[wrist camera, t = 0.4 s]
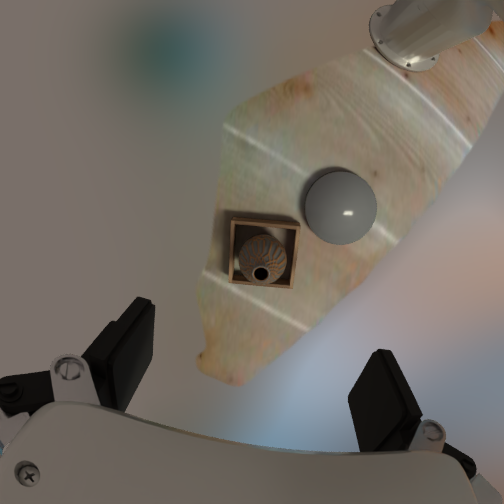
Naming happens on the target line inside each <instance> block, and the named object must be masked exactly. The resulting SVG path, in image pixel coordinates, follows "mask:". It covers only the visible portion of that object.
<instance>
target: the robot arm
mask: <svg viewBox="0 0 504 504" xmlns="http://www.w3.org/2000/svg"><path fill="white" fill-rule="evenodd" d="M493 11H494V12H495V13H496V14H497V15H498V16H499V17H500V19H502V20H503V21H504V0H397V1H396V2H395V3H394V4H393V5H386V6H383V7H380V8H379V9H377V10H376V11H375V12H374V13H373V15H372V16H371V18H370V22H369V32H370V36H371V38H372V41H373V43H374V45H375V46H376V48H377V49H378V51H379V52H380V53H381V54H382V55H383V56H384V57H385V58H386V59H387V60H388V61H389V62H391V63H392V64H394V65H395V66H397V67H399V68H401V69H404V70H407V71H411V72H422V71H426V70H428V69H430V68H432V67H433V66H434V65H435V64H436V63H437V61H438V58H439V53H441V52H443V51H445V50H447V49H449V48H451V47H453V46H455V45H458V44H460V43H462V42H464V41H466V40H469V39H471V38H473V37H475V36H478V35H480V34H482V33H483V32H485V31H486V30H487V28H488V27H489V25H490V23H491V20H492V14H493ZM379 43H380V44H379ZM406 65H407V66H406ZM154 318H155V305H153V304H152V303H151V300H149V299H145V298H142V297H137V298H136V299H135V300H134V301H133V302H132V303H131V305H130V306H129V307H128V308H127V309H126V311H125V312H124V313H123V314H122V315H121V316H120V318H119V319H118V320H117V321H111V322H110V323H109V324H108V325H107V326H106V327H105V328H104V329H103V331H102V332H101V333H100V334H99V335H98V337H97V338H96V339H95V340H94V341H93V343H92V344H91V345H90V346H89V347H88V349H87V350H86V351H85V352H84V354H83V355H82V356H81V357H80V356H77V355H73V354H65V355H61V356H59V357H57V358H55V359H54V361H52V363H51V365H50V370H49V371H42V372H35V373H28V374H20V375H12V376H6V377H3V378H1V379H0V504H502V497H501V495H500V493H499V492H498V491H497V490H496V489H495V488H494V487H493V486H492V485H491V484H490V483H489V482H488V481H487V480H486V479H485V478H484V477H483V476H482V475H480V474H477V475H476V465H475V462H474V461H473V459H472V458H470V457H469V456H467V455H465V454H464V453H462V452H461V451H459V450H457V449H456V448H454V447H452V446H451V445H449V444H447V443H445V440H446V432H445V430H444V428H443V427H442V426H441V425H440V424H439V423H438V422H436V421H434V420H430V419H427V420H424V421H421V419H420V418H421V416H422V415H423V414H422V412H421V410H420V408H419V406H418V404H417V401H416V399H415V397H414V395H413V393H412V391H411V389H410V387H409V385H408V383H407V381H406V379H405V377H404V375H403V373H402V371H401V369H400V367H399V365H398V363H397V361H396V359H395V357H394V355H393V353H392V352H391V351H390V350H385V349H378V350H377V351H376V352H373V353H372V355H371V357H370V359H369V360H368V362H367V364H366V366H365V368H364V369H363V371H362V373H361V375H360V376H359V378H358V380H357V381H356V383H355V385H354V387H353V388H352V390H351V391H350V393H349V395H348V403H349V407H350V411H351V415H352V419H353V423H354V428H355V432H356V436H357V440H358V445H359V449H360V452H321V451H305V450H292V449H282V448H274V447H266V446H258V445H252V444H246V443H240V442H234V441H229V440H224V439H219V438H214V437H209V436H205V435H201V434H196V433H192V432H188V431H185V430H181V429H177V428H174V427H169V426H166V425H163V424H159V423H156V422H153V421H149V420H146V419H143V418H140V417H137V416H134V415H130V414H127V413H124V412H125V410H126V408H127V406H128V405H129V403H130V401H131V399H132V397H133V395H134V393H135V391H136V389H137V387H138V385H139V383H140V381H141V379H142V377H143V375H144V374H145V372H146V370H147V368H148V366H149V364H150V362H151V360H152V356H153V336H154ZM8 443H10V444H9V446H8V447H7V448H6V450H5V452H4V453H3V455H2V450H3V448H4V447H5V446H6V445H7V444H8Z"/></svg>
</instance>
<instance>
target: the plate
mask: <svg viewBox="0 0 504 504" xmlns="http://www.w3.org/2000/svg"><path fill="white" fill-rule="evenodd" d="M376 212H377V203H376V198H375V195H374V192H373V190H372V189H371V187H370V186H369V184H368V183H367V182H366V181H365V180H364V179H362V178H361V177H359V176H357V175H355V174H352V173H349V172H345V171H336V172H331V173H328V174H326V175H324V176H322V177H320V178H319V179H318V180H317V181H315V182H314V184H313V185H312V186H311V188H310V189H309V191H308V193H307V196H306V200H305V215H306V219H307V221H308V224H309V226H310V228H311V229H312V231H313V232H314V233H315V234H316V235H317V236H318V237H319V238H320V239H322V240H324V241H326V242H328V243H331V244H336V245H344V244H349V243H353V242H355V241H357V240H359V239H360V238H362V237H363V236H364V235H365V234H366V233H367V232H368V231H369V230H370V228H371V227H372V225H373V223H374V220H375V217H376Z"/></svg>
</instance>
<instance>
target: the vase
mask: <svg viewBox="0 0 504 504" xmlns="http://www.w3.org/2000/svg"><path fill="white" fill-rule="evenodd" d="M286 263H287V256H286V251H285V249H284V247H283V245H282V244H281V242H280V241H279V240H277V239H276V238H274V237H272V236H270V235H264V234H262V235H256V236H253V237H251V238H250V239H248V240H247V241H246V242H245V243H244V245H243V246H242V248H241V250H240V253H239V266H240V270H241V272H242V273H243V275H244V276H245V277H246V278H247V279H248V280H249V281H251V282H253V283H255V284H259V285H266V284H270V283H272V282H274V281H276V280H277V279H278V278H279V277H280V276H281V275H282V274H283V272H284V270H285V267H286Z"/></svg>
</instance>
